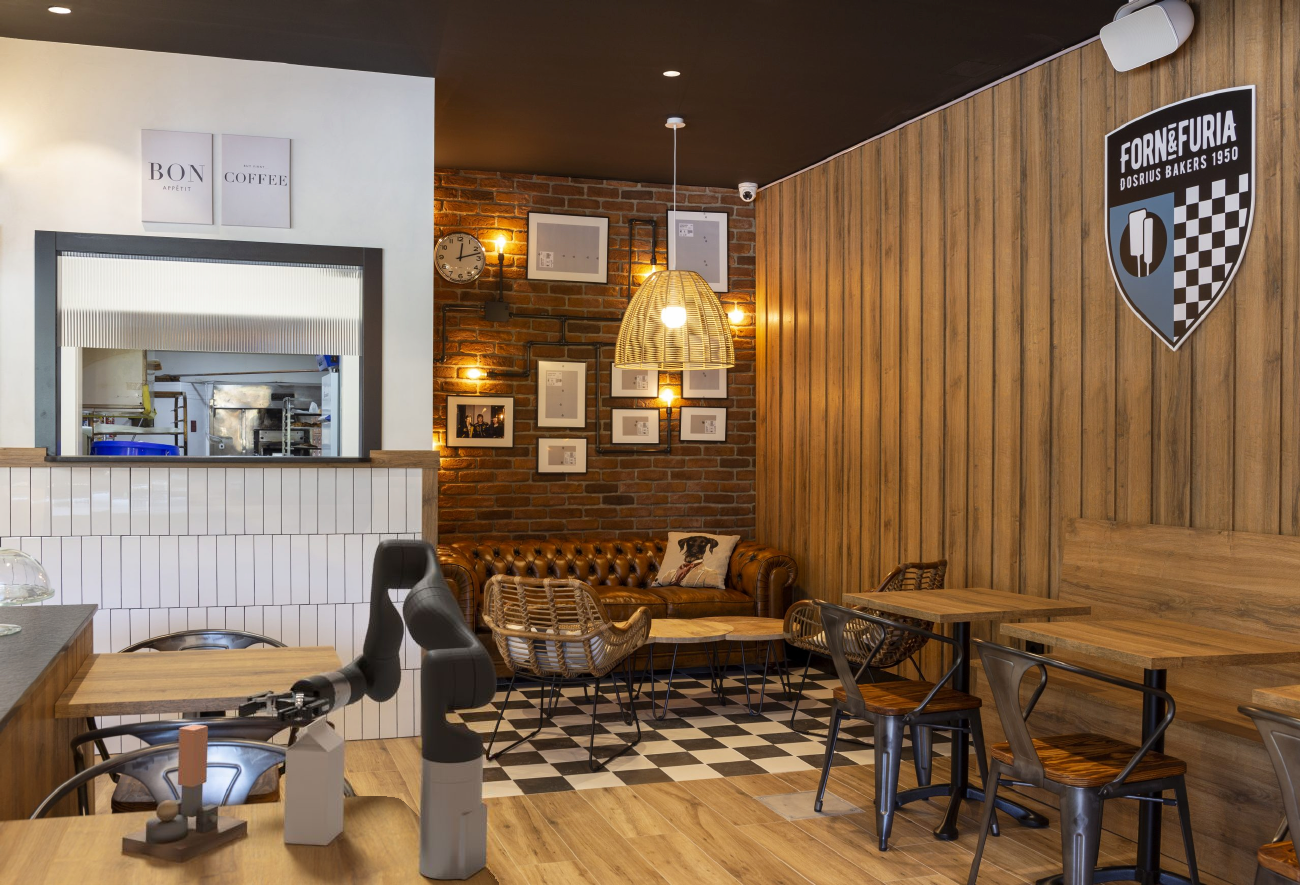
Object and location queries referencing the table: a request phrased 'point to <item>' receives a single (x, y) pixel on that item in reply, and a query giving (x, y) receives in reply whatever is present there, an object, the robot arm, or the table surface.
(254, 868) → the table surface
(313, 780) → the milk carton
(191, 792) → the lever
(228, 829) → the base
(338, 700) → the robot arm
